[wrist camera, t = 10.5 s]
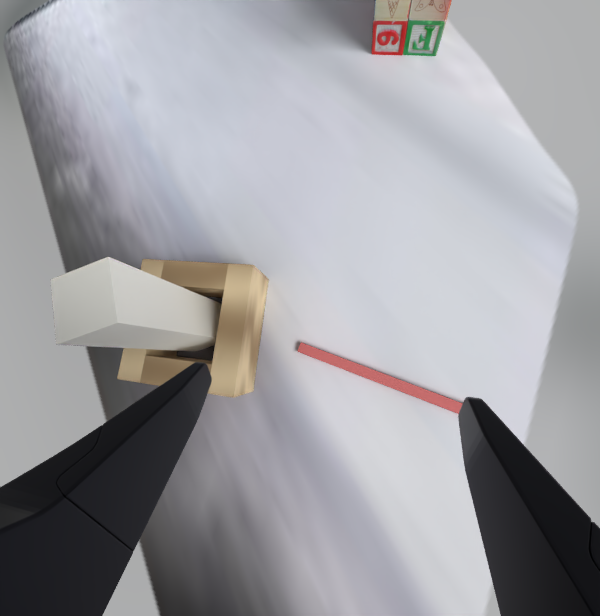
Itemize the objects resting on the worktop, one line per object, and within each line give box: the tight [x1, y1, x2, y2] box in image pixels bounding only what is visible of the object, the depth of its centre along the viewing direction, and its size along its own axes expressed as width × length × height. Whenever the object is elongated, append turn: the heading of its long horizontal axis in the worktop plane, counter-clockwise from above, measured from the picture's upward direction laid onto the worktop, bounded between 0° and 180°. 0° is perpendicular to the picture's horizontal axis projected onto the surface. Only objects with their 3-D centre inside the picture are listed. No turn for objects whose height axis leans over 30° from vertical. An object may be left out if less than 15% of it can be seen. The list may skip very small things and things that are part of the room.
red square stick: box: [298, 343, 463, 414], centre depth 22 cm, size 14×1×1 cm, turn 69°
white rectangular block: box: [51, 257, 222, 351], centre depth 20 cm, size 4×4×12 cm
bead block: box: [117, 259, 269, 398], centre depth 24 cm, size 10×10×4 cm
